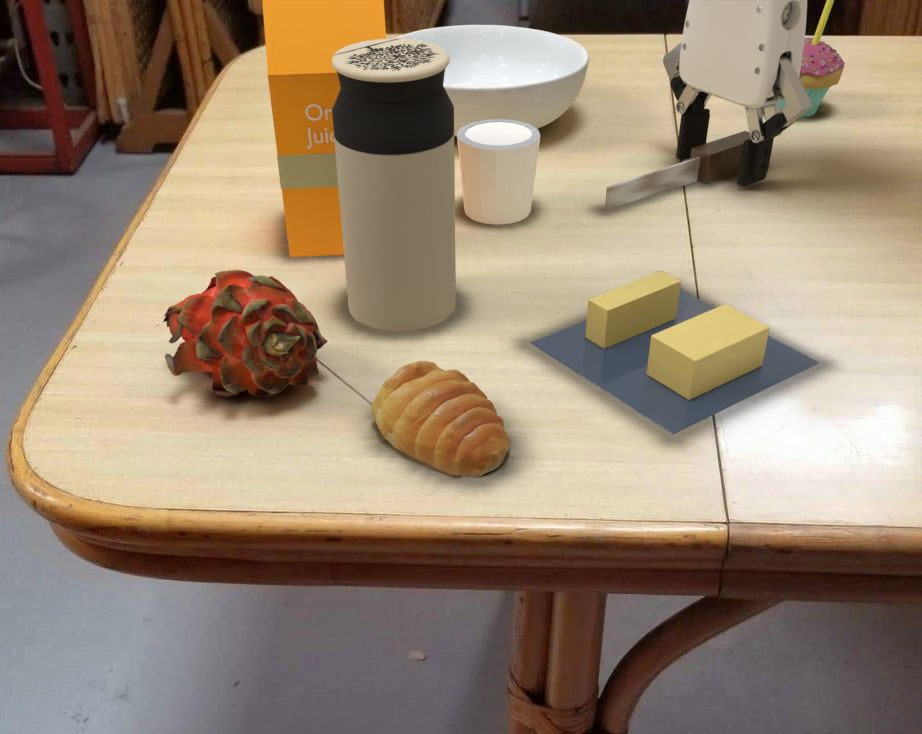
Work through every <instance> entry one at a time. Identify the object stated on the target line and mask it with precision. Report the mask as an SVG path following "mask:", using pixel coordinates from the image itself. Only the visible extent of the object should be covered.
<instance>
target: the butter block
mask: <svg viewBox="0 0 922 734" xmlns="http://www.w3.org/2000/svg"><path fill="white" fill-rule="evenodd" d="M770 330H771V328H770V326H769V325H767V324H765V323H763V322H761V321H759V320H757V319H755V318H753V317H751V316H749V315H747V314H746V313H743V312H741V311H740V310H738V309H736V308H734V307H732V306H730V305H728V304H726V303H723V304H722V305H720V306H717V307H715V309H712V310H710V311H708V312H705V313H703V314H700V315H698V316H696V317H693V318H691V319H689V320H686V321H684V322H682V323H679V324H677V325H675V326H672V327H670V328H668V329H665V330H663V331H661V332H658V333H656V334H654V335H652V336H651V342H650V350H649V358H648V366H647V375H648V376H650V377H652V378H653V379H655V380H657V381H658V382H660V383H662V384H663V385H665V386H666V387H668V388H670V389H671V390H673V391H675V392H676V393H678V394H680V395H681V396H683V397H684V398H686V399H688V400H691V399H693V398H695V397H697V396H700V395H702V394H704V393H706V392H708V391H710V390H712V389H714V388H716V387H719V386H721V385H723V384H725V383H727V382H729V381H731V380H733V379H735V378H737V377H740V376H742V375H744V374H746V373H748V372H750V371H752V370H754V369H756V368H759V367H761V366H762V363H763V358H764V354H765V349H766V344H767V339H768V336H769V333H770Z"/></svg>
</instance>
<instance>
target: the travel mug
mask: <svg viewBox="0 0 922 734" xmlns="http://www.w3.org/2000/svg"><path fill="white" fill-rule="evenodd" d="M449 61H450V57H449V54H448V53H447V51H446V50H444V49H443V48H441V47H440V46H438V45H435V44H432V43H429V42H425V41H419V40H412V39H394V38H386V39H377V40H369V41H363V42H358V43H355V44H351V45H348V46H346V47H344V48H342V49H340V50H338V51H337V52H336V53H335V54H334V55H333V57H332V66H333V67H334V69H335V70H336V71H337V73H338V77H339V82H340V87H341V89H340V91H339V94H338V96H337V99H336V101H335V104H334V106H333V108H332V116H333V128H334V140H335V152H336V164H337V176H338V188H339V200H340V212H341V224H342V236H343V247H344V255H343V256H344V257H343V258H344V271H345V281H346V282H345V283H346V294H347V304H348V305H347V306H348V307H347V308H348V311H349V314H350V316H352V318H353V319H354V320H355V321H357V322H358V323H359V324H361V325H364V326H366V327H368V328H371V329H376V330H379V331H384V332H385V331H386V332H413V331H419V330H425V329H427V328H431V327H434V326H437V325H439V324H441V323H442V322H444V321H446V320H447V319H449V318H450V317H451V316H452V315H453V313H454V312H455V310H456V308H457V307H456V306H457V279H456V278H457V276H456V273H457V269H456V267H457V266H456V183H455V181H456V177H455V176H456V175H455V174H456V171H455V163H456V162H455V136H454V106H453V104H452V102H451V100H450V98H449V96H448V94H447V92H446V90H445V88H444V86H443V83H444V74H445V69H446V67H447V66H448V64H449Z"/></svg>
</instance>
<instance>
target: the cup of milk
mask: <svg viewBox="0 0 922 734" xmlns="http://www.w3.org/2000/svg"><path fill="white" fill-rule="evenodd" d="M456 139H457V148H458V159H459V168H460V177H461V178H460V179H461V190H462V198H463V209H464V213H465V216H466V217H468V218H469V219H470V220H472V221H475V222H478V223H481V224H486V225H497V226H498V225H510V224H514V223H518V222H521V221H522V220H525V219H526V218H528V217H529V215H530V213H531V211H532V203H533V196H534V188H535V181H536V180H535V179H536V173H537V166H538V157H539V151H540V150H539V149H540V141H541V133H540V131H539V128H538V129H537V128H535V127H533V126H531V125H530V124H527V123H523V122H519V121H514V120H503V119H496V120H483V121H478V122H473V123H470V124H468V125H466V126H464V127H461V129H460V130H459V131H458V132H457V136H456Z"/></svg>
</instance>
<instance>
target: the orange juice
mask: <svg viewBox="0 0 922 734" xmlns="http://www.w3.org/2000/svg"><path fill="white" fill-rule="evenodd" d="M261 1H262V2H261V3H262V14H263V29H264V41H265V54H266V67H267V71H266V73H267V81H268V89H269V90H268V91H269V97H270V104H271V114H272V123H273V130H274V138H275V146H276V159H277V167H278V176H279V184H280V190H281V194H282V195H281V196H282V202H283V203H282V205H283V212H284V221H285V228H286V236H287V237H286V238H287V244H288V252H289V258H301V257H325V256H326V257H327V256H344V247H343V236H342V224H341V212H340V200H339V188H338V176H337V164H336V152H335V140H334V128H333V116H332V108H333V106H334V104H335V101H336V99H337V96H338V94H339V91H340V89H341V87H340V82H339V77H338V73H337V71H336V70H335V69H334V67H333V66H332V57H333V55H334V54H335V53H336V52H337V51H338V50H340V49H342V48H344V47H346V46H348V45H351V44H355V43H358V42H363V41H369V40H377V39H387V28H386V16H385V15H386V14H385V0H261Z"/></svg>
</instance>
